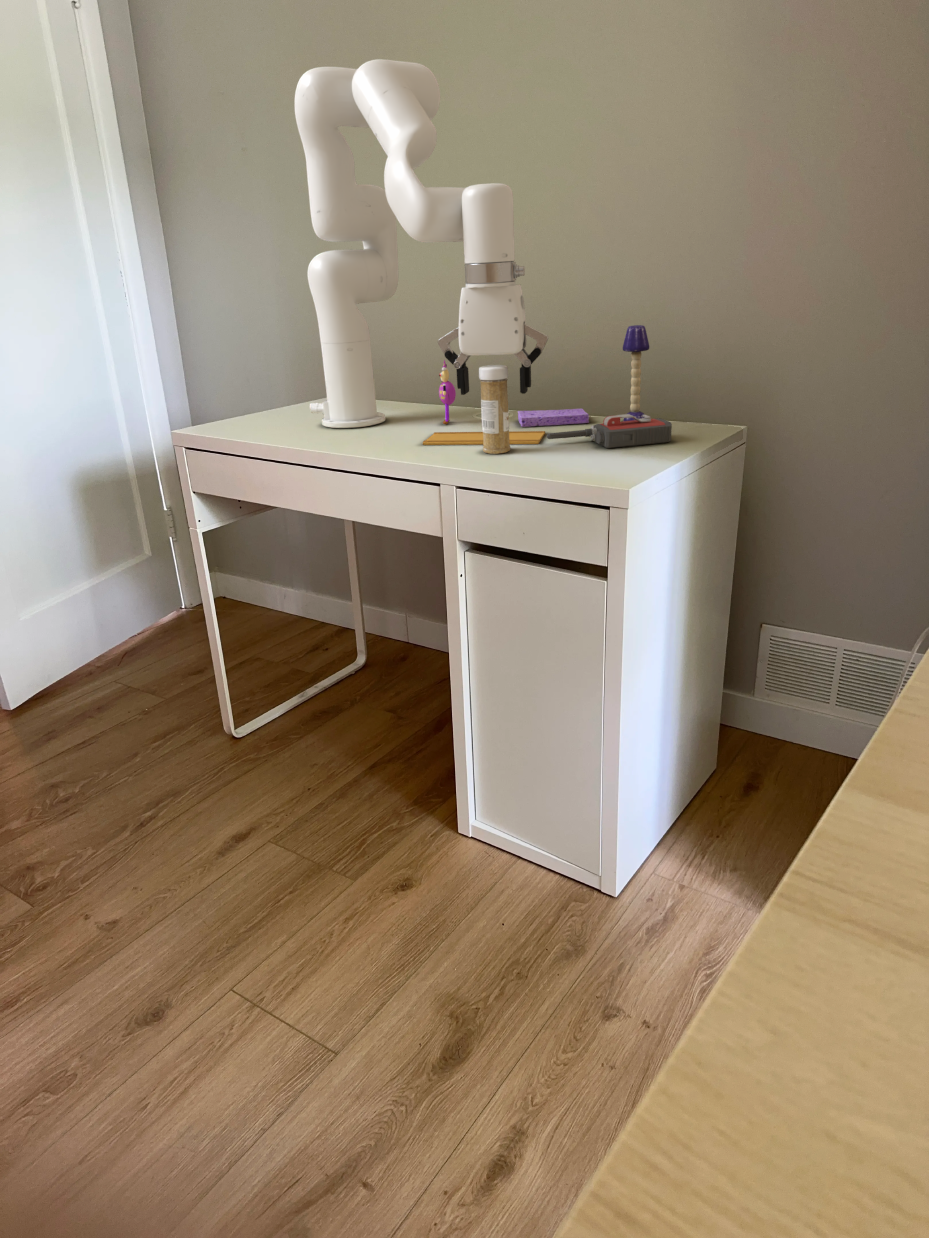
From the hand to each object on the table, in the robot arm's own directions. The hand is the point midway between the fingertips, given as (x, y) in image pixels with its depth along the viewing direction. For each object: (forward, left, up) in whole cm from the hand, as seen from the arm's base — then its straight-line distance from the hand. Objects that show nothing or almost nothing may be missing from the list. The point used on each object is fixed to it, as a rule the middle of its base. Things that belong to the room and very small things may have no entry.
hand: (494, 392), depth 134 cm
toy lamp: (+21, +24, -10) cm, 33 cm away
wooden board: (-4, +10, -9) cm, 14 cm away
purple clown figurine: (-14, +25, -10) cm, 30 cm away
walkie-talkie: (+18, +6, -9) cm, 21 cm away
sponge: (+6, +25, -10) cm, 27 cm away
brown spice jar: (0, 0, -10) cm, 10 cm away
